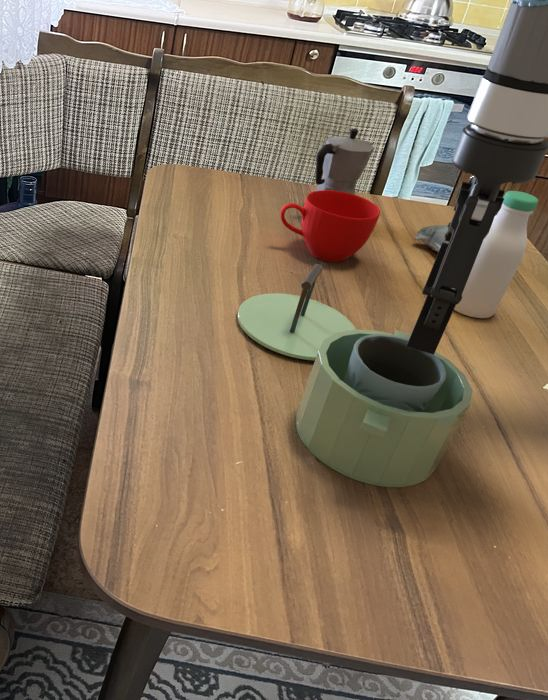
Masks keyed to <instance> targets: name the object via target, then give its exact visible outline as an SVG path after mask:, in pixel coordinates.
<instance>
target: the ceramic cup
mask: <svg viewBox="0 0 548 700" xmlns="http://www.w3.org/2000/svg"><path fill="white" fill-rule="evenodd" d="M289 209H296V210H298V211H299V213H300V215H301V229H299V228H297V227H295V226H293V225H292V224H290V223H289V222H288V221H287V220H286V218H285V213H286V211H287V210H289ZM279 213H280V215H279V216H280V220H281V222H282V224H283V225H284V227H286V228H287V229H289V230H290V231H291V232H293V233H295V234H297V235H300V236H302V238H303V240H304V243H305V245H306V247H307V249H308V252H309V253H310V254H311V255H312V256H313V257H315V258H316V259H319V260H323V261H325V262H331V263H340V262H343V261H345V260H346V259H348V258H350V257H351V256H353V255H354V254H356V253H357V252H359V251H360V250H361V249H362V248H363V247H364V245H365V244H366V243H367V242H368V240H369V238H370V237H371V235H372V234H373V232H374V229H375V227H376V225H377V223H378V220H379V219H380V214H381V210H380V208H379V207H378V206H377V205H376V204H375V203H374V202H372V201H370V200H369V199H367V198H364V197H362V196H359V195H356V194H355V195H353V194H350V193H345V192H340V191H332V190H319V191H316V190H314V191H311V192H309V193H308V194H307V195H306V197H305V201H304V204H303V206H301V205H300V204H297V203H295V202H289V203H286V204H284V205H283V206H282V207H281V210H280V212H279Z"/></svg>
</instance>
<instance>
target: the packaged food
mask: <svg viewBox="0 0 548 700" xmlns="http://www.w3.org/2000/svg"><path fill="white" fill-rule="evenodd" d="M447 231H448V224H436V225H430V226H424V227H422V228H421V229H419V230H418V231H417V233H416V234H415V236H414V241H420V242H421V243H423V244H424V245H425V246H426V247H428V248H429V249H431V250H432V251H434V252H436V253H438V252H439V250H440V247H441V245H442V242H444V243H448V241H444V240H445V237H444V236H445V234H446V233H447Z"/></svg>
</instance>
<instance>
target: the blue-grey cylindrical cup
mask: <svg viewBox="0 0 548 700" xmlns="http://www.w3.org/2000/svg"><path fill="white" fill-rule="evenodd" d="M408 341H409V340H407V339H404V338H401V337H397V336H392V335H385V334H373V335H367V336H364V337H362V338H360V339H359V340H357V341H356V343H355V345H354V348H353V351H352V354H351V357H350V361H349V365H348V370H347V373H346V376H345V379H344V383H346V384H347V385H348V386H350V387H351V388H352V389H354V390H355V391H356V392H358V393H359V394H362V395H364V396H366V397H368V398H370V399H372V400H374V401H377V402H379V403H381V404H383V405H387V406H390V407H394V408H398V409H402V410H406V411H412V412H424V411H425V410H426V408H427V407H428V406H429V404H430V402H431V401H432V399H433V398H434V396H435V394H436V393H437V392H438V390H439V389H440V387H441V385H442V384H443V382H444V381H445V379H446V371H445V368H444V365H443V364H442V362H441V361H440V360H439V358H438V357H437V356H435V355H433V354H430V353H427V352H424V351H420V350H417V349H414V348H411V347H407V344H408Z"/></svg>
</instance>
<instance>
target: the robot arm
mask: <svg viewBox="0 0 548 700" xmlns="http://www.w3.org/2000/svg"><path fill="white" fill-rule="evenodd" d="M509 3H510V4H509V7H508V10H507V13H506V16H505V19H504V21H503V24H502V27H501V29H500V32H499V35H498V37H497V40H496V43H495V44H494V45H495V46H494V48H493V50H492V54H491V55H490V58H489V61H488V64H487V67H486V70H485V72H484V74H483V75H482V76H481V78H480V81H479V84H478V86H477V89H476V92H475V95H474V97H473V101H472V103H471V105H470V107H469V110H468V113H467V115H466V119H467V120H468V122H469V123H470V124H467V125H466V126H465V127H463V128H462V130H461V132H460V136H459V138H458V141H457V143H456V145H455V149H454V151H453V153H452V156H451V163H452V165H453V166H454V167H455V168H456V169H458V170H459V171H461V172H463V173H465V174H470V177H469V179H468V181H462V182H461V184H460V187H459V189H458V191H457V195H456V200H455V203H454V207H453V211H454V213H453V216H452V218H451V221H450V222H448V224H447V225H448V231H447V233H446V234H445V236H444V237H445V240H444V241H448V243H444V242H442V245H441V247H440V250H439V252H437V254H436V257H435V260H434V262H433V265H432V267H431V269H430V272H429V274H428V276H427V279H426V281H425V284H424V287H423V288H422V292H421V294H422V295H425V296H426V298H425V300H424V302H423V305H422V307H421V309H420V312H419V314H418V317H417V319H416V321H415V324H414V327H413V329H412V332H411V333H410V334H411V336H410V339H409V341H408V344H407V347H411V348H414V349H417V350H420V351H424V352H427V353H430V354H433V355H434V353H435V352H437V348H438V347H439V345H440V342H441V340H442V338H443V336H444V333H445V331H446V328H447V326H448V324H449V322H450V319H451V317H452V315H453V312H454V311H455V310H454V308H455V306H456V304H459V302H461V299H462V293H463V291H464V288H465V285H466V283H467V280H468V278H469V275H470V273H471V270H472V268H473V265H474V263H475V260H476V258H477V255H478V252H479V250H480V247H481V245H482V242H483V240H484V238H485V237H486V236H487V235H488V233H489V231H490V228H491V225H492V223H493V220H494V217H495V216H496V215H497V214H498V212H499V211H500V209H501V206H502V204H503V201H504V198H503V197H504V195H505V193H506V190H504V189H500V188H501V186H502V185H504V184H508V183H509V184H510V183H512V184H524V183H528V182H530V181H532V180H534V178H536V176H537V174H538V173H539V170H540V168H541V165H542V164H543V161H544V159H545V157H546V155H547V152H548V140H547V139H548V0H510V1H509ZM452 288H454V289H452Z"/></svg>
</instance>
